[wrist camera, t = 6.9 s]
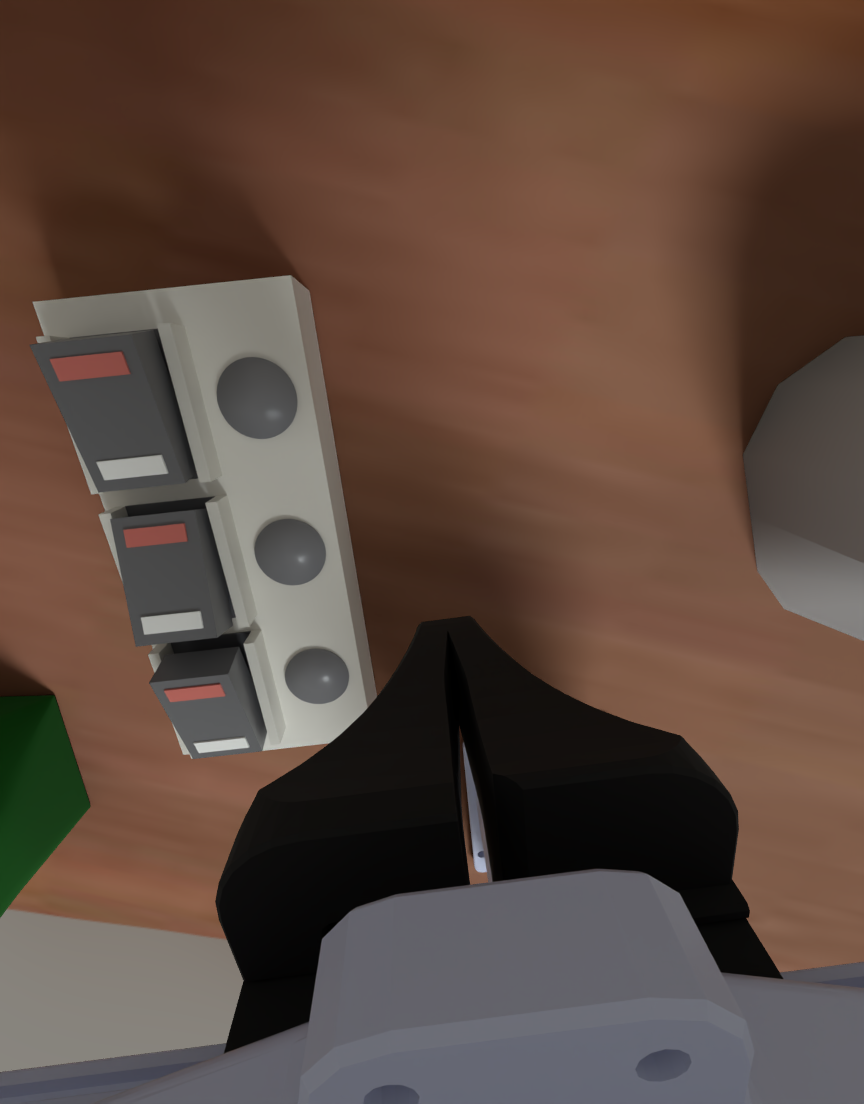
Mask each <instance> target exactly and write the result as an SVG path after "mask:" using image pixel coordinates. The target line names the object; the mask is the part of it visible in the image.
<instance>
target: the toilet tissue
mask: <svg viewBox="0 0 864 1104" xmlns="http://www.w3.org/2000/svg"><path fill="white" fill-rule="evenodd" d="M743 460H744V468H745V476H746V484H747V491H748V499H749V507H750V515H751V523H752V531H753V539H754V547H755V555H756V563H757V571H758V572H759V574H760V575H761V577H762V578H763V579H764V581H765V582H766V584H767V585H768V587H769V588H770V589H771V591H772V592H773V594H774V595H775V597H776V598H777V599H778V601H779V602H780V604H781V605H782V607H783V608H784V609H786V610H788V611H791V612H793V613H796V614H798V615H801V616H803V617H806V618H808V619H811V620H813V621H816V622H818V623H821V624H823V625H826V626H828V627H830V628H833V629H835V630H838V631H840V632H843V633H845V634H848V635H850V636H853V637H855V638H858V639H860V640H863V641H864V335H863V336H852V337H845V338H843V339H842V340H841V341H839V342H838V343H836V344H835V345H833V346H832V347H831V348H829V349H828V350H826V351H825V352H824V353H822V354H821V355H819V356H818V357H816V358H815V359H814V360H812V361H811V362H809V363H808V364H807V365H805V366H804V367H802V368H801V369H800V370H798V371H797V372H795V373H794V374H792V375H791V376H790V377H788V378H787V379H785V380H784V381H783V382H781V383H780V384H778V385H777V387H776V389H775V391H774V393H773V395H772V397H771V399H770V401H769V403H768V405H767V407H766V409H765V411H764V413H763V415H762V417H761V419H760V421H759V423H758V425H757V427H756V429H755V431H754V433H753V435H752V437H751V439H750V441H749V443H748V445H747V447H746V449H745V451H744V453H743Z"/></svg>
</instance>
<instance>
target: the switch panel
mask: <svg viewBox="0 0 864 1104" xmlns="http://www.w3.org/2000/svg"><path fill="white" fill-rule="evenodd" d="M33 305H34V308H35V310H36V313H37V316H38V319H39V322H40V325H41V328H42V331H43V333H44V336H41V337H36V339H37V342H38V343H43V342H49V341H54V340H60V339H69V338H79V337H88V336H98V335H108V334H117V333H127V332H136V331H146V330H154V333H155V336H156V339H157V342H158V345H159V348H160V350H161V353H162V356H163V359H164V362H165V365H166V368H167V371H168V374H169V377H170V379H171V382H172V385H173V388H174V391H175V394H176V398H177V401H178V405H179V409H180V412H181V416H182V420H183V423H184V427H185V431H186V434H187V438H188V442H189V445H190V449H191V453H192V457H193V460H194V464H195V468H196V471H197V473H196V474H195V475H194V476H193V477H192V478H191V479H190V480H189V481H187V482H186V483H184V484H174V485H165V486H156V487H146V488H137V489H128V490H118V491H109V492H100V493H99V495H100V497H101V500H102V503H103V506H104V509H105V512H103V513H101V514H98V515H99V517H100V520H101V523H102V526H103V529H104V531H105V534H106V537H107V540H108V543H109V546H110V548H111V551H112V554H113V557H114V560H115V563H116V565H117V568H118V571H119V574H120V577H121V580H122V576H121V571H120V566H119V561H118V556H117V551H116V546H115V541H114V537H113V532H112V527H111V522H110V519H115V518H123V517H131V516H140V515H150V514H159V513H168V512H177V511H187V510H196V509H205V508H207V512H208V516H209V519H210V523H211V527H212V530H213V534H214V538H215V541H216V545H217V549H218V552H219V556H220V560H221V564H222V567H223V571H224V575H225V581H226V587H227V593H228V599H229V604H230V610H231V616H232V622H233V626H232V627H231V628H229V629H228V630H227V631H225V632H224V633H223V634H222V635H220V636H219V637H218V638H210V639H200V640H191V641H182V642H173V643H164V644H155V645H152V647H153V650H152V651H151V652H150V653H149V654H148V656H149V659H150V662H151V664H152V667H153V670H154V673H155V672H156V670H157V668H158V666H159V665H160V663H161V661H162V659H163V658H164V656H165V655H167V654H177V653H186V652H195V651H204V650H213V649H222V648H231V647H239V648H240V650H241V653H242V655H243V658H244V660H245V663H246V665H247V668H248V670H249V672H250V675H251V677H252V680H253V682H254V685H255V689H256V693H257V696H258V700H259V704H260V707H261V711H262V715H263V718H264V722H265V726H266V730H267V735H266V739H265V743H264V747H263V751H264V750H273V749H282V748H291V747H299V746H308V745H317V744H326V743H331V742H332V741H333V740H334V739H335V738H337V737H338V736H339V735H340V734H341V733H342V732H344V731H345V730H346V729H347V728H348V727H349V726H350V725H351V724H352V723H353V722H354V721H355V720H356V719H357V718H358V717H359V716H360V715H362V714H363V713H364V711H365V710H366V709H367V708H368V707H369V706H370V705H371V703H372V702H373V701H374V700H375V699H376V697H377V693H376V687H375V681H374V675H373V669H372V663H371V657H370V651H369V645H368V639H367V633H366V627H365V621H364V615H363V609H362V603H361V597H360V591H359V585H358V579H357V573H356V567H355V561H354V555H353V549H352V543H351V537H350V531H349V525H348V519H347V513H346V507H345V501H344V495H343V489H342V483H341V477H340V471H339V465H338V459H337V453H336V447H335V441H334V435H333V429H332V423H331V417H330V411H329V405H328V399H327V393H326V387H325V381H324V375H323V369H322V363H321V357H320V351H319V345H318V339H317V333H316V327H315V321H314V315H313V309H312V303H311V297H310V291H309V290H308V289H307V288H305V287H304V286H303V285H302V284H301V283H299V282H298V281H297V280H296V279H295V278H293V277H292V276H291V275H288V276H278V277H269V278H259V279H249V280H240V281H230V282H220V283H211V284H201V285H191V286H182V287H172V288H163V289H153V290H143V291H134V292H124V293H114V294H105V295H95V296H85V297H76V298H66V299H57V300H47V301H37V302H33ZM67 427H68V426H67ZM68 430H69V428H68ZM69 433H70V431H69ZM70 435H71V433H70ZM71 438H72V441H73V444H74V447H75V449H76V452H77V455H78V458H79V461H80V464H81V466H82V469H83V472H84V475H85V478H86V481H87V483H88V486H89V489H90V492H91V494H98V490H97V488H96V486H95V484H94V482H93V480H92V478H91V475H90V473H89V471H88V469H87V467H86V465H85V463H84V461H83V458H82V456H81V454H80V452H79V450H78V448H77V446H76V443H75V441H74V439H73V437H72V435H71ZM122 582H123V581H122ZM172 724H173V723H172ZM173 727H174V725H173ZM174 729H175V727H174ZM175 732H176V735H177V738H178V741H179V744H180V746H181V749H182V752H183V755H186V754H190V753H189V751H188V749H187V748H186V746H185V744H184V743H183V741H182V739H181V737H180V736H179V734H178V732H177V730H176V729H175ZM190 756H191V755H190ZM191 759H192V756H191Z"/></svg>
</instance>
